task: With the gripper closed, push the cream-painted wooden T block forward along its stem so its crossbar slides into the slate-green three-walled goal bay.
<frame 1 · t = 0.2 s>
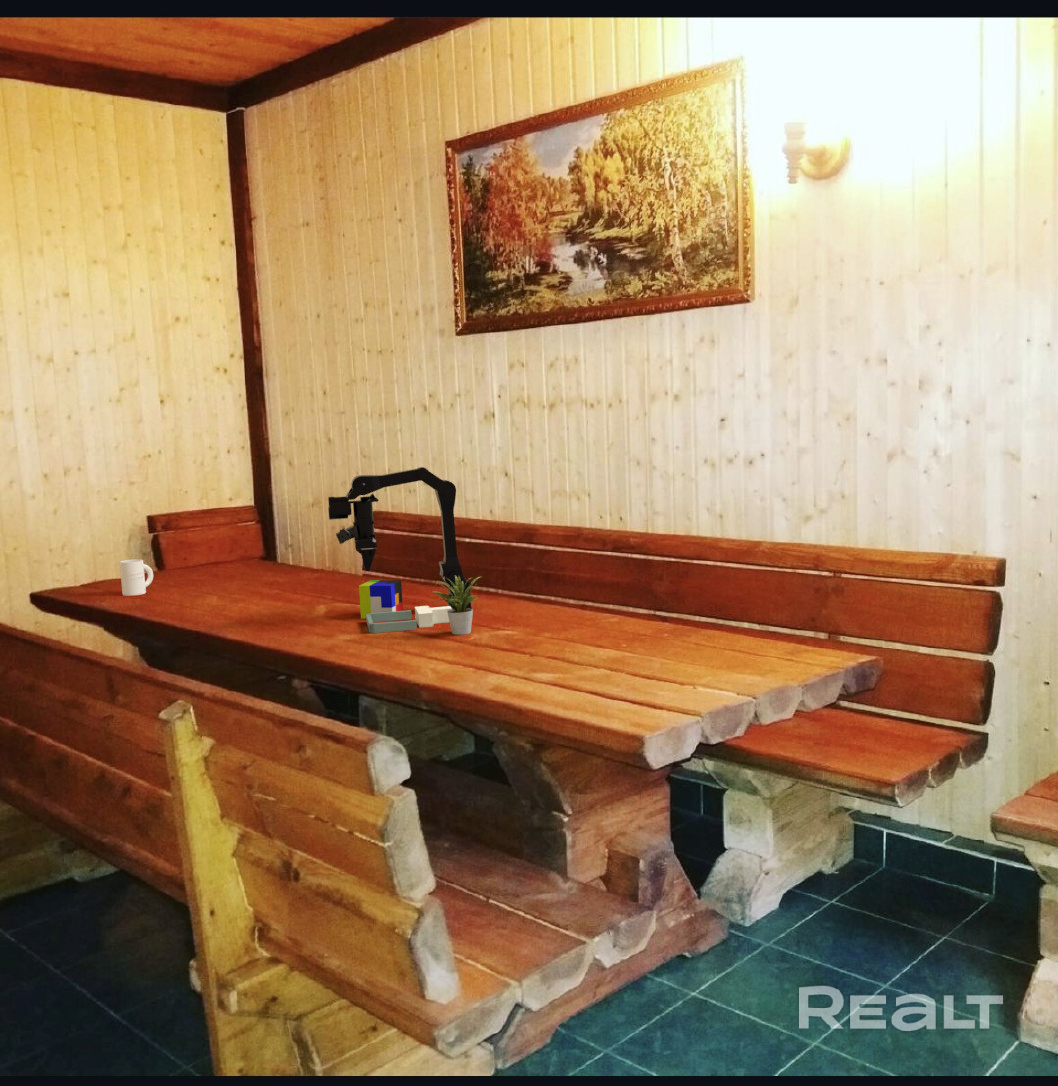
hand: (367, 568, 335), 14 cm above the table, fingers open, 9 cm apart
house plant: (463, 632, 307), on the table
puzzle toy: (382, 616, 338), on the table
t block: (431, 622, 322), on the table
goal bay: (389, 625, 320), on the table
mug: (139, 593, 402), on the table
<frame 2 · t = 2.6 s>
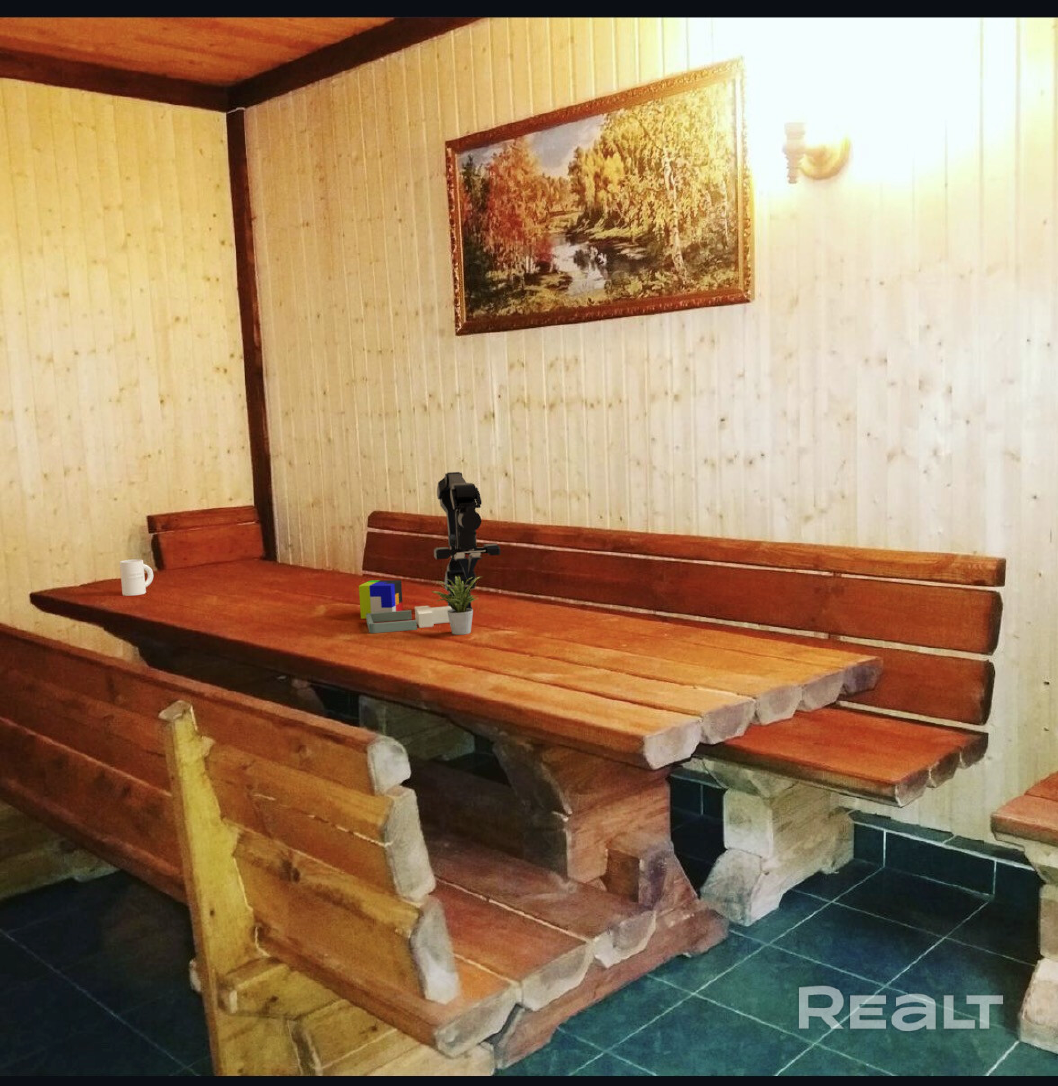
hand: (468, 580, 323), 11 cm above the table, fingers closed
nothing on the table moved.
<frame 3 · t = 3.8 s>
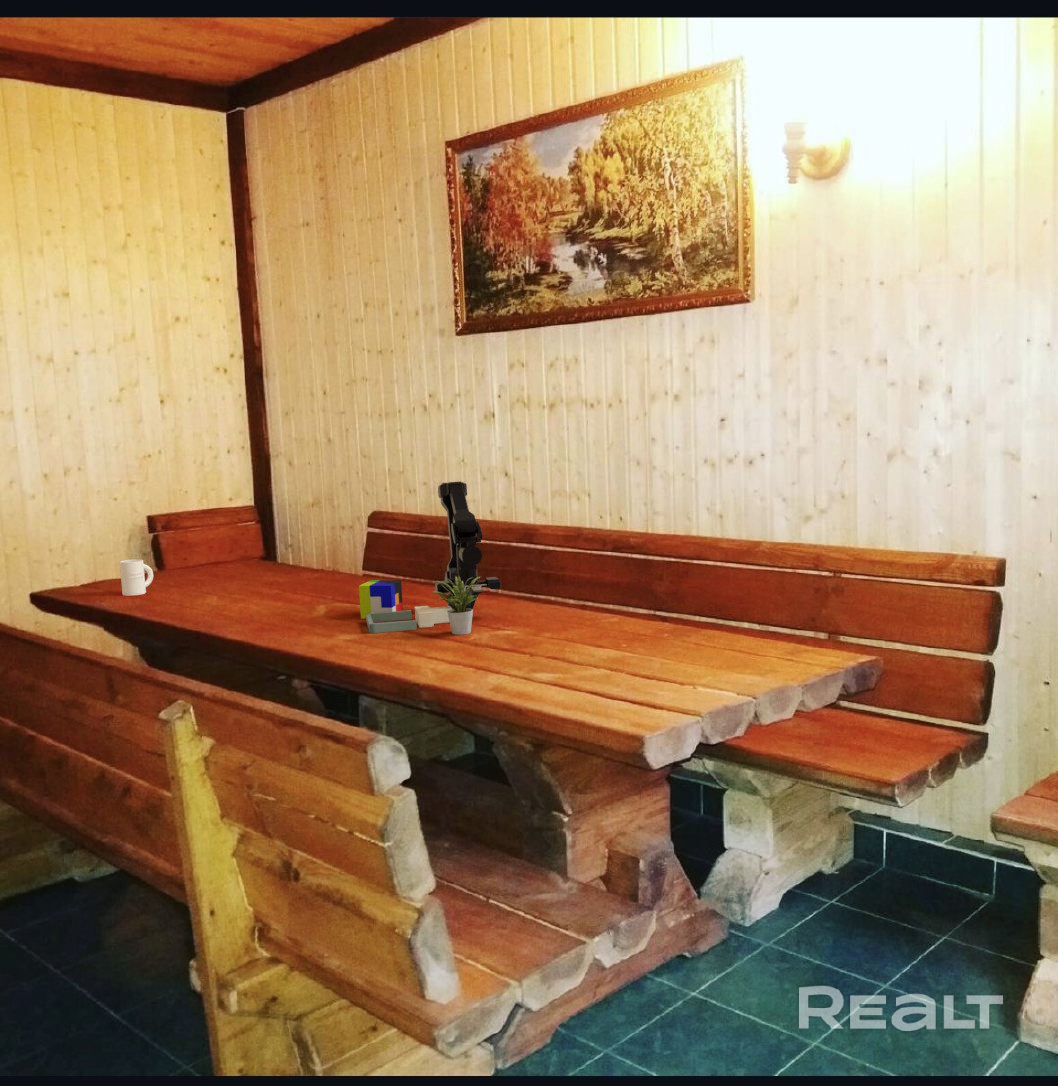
hand: (469, 614, 324), 2 cm above the table, fingers closed
nothing on the table moved.
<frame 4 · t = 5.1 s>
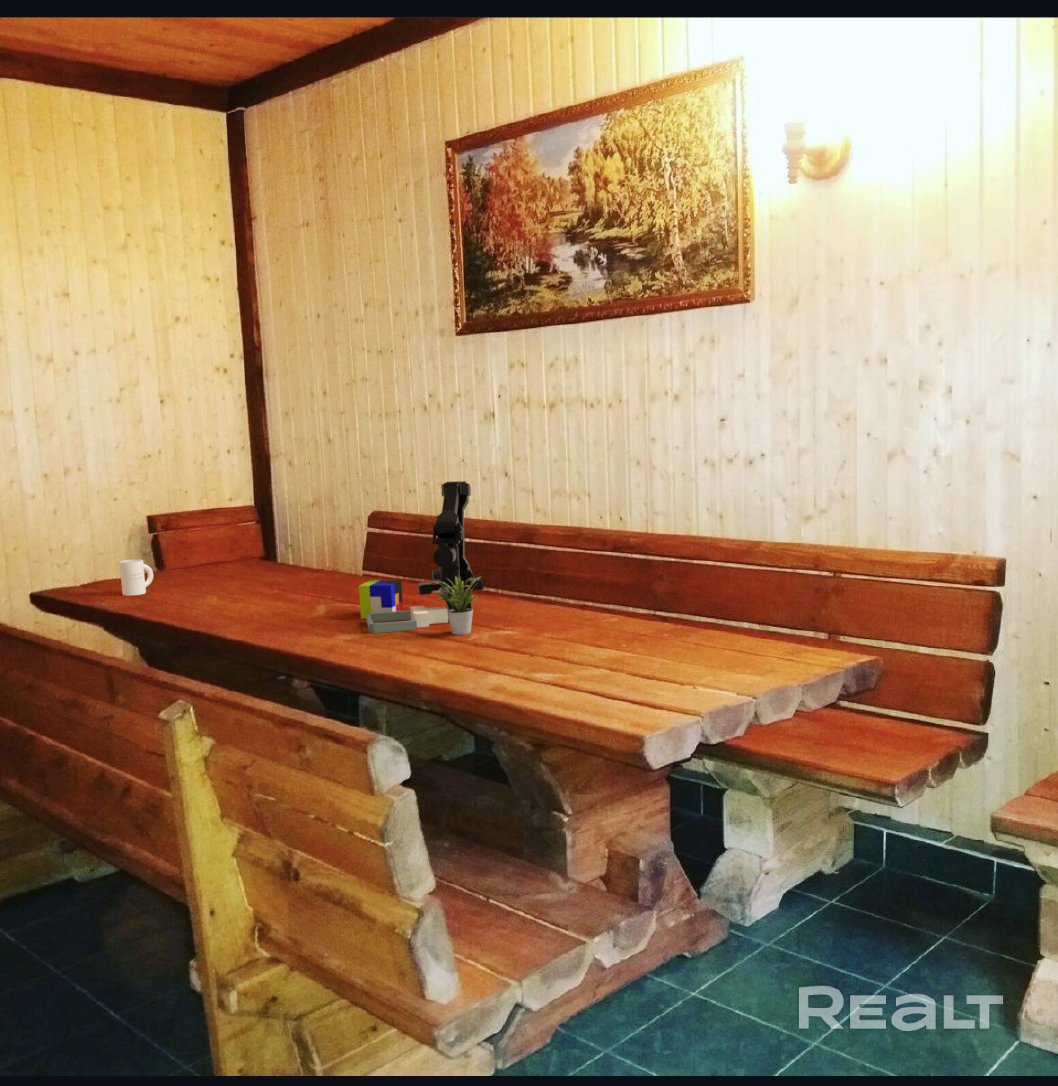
hand: (452, 615, 323), 2 cm above the table, fingers closed
t block: (426, 622, 322), on the table, touching gripper
everything else where it was.
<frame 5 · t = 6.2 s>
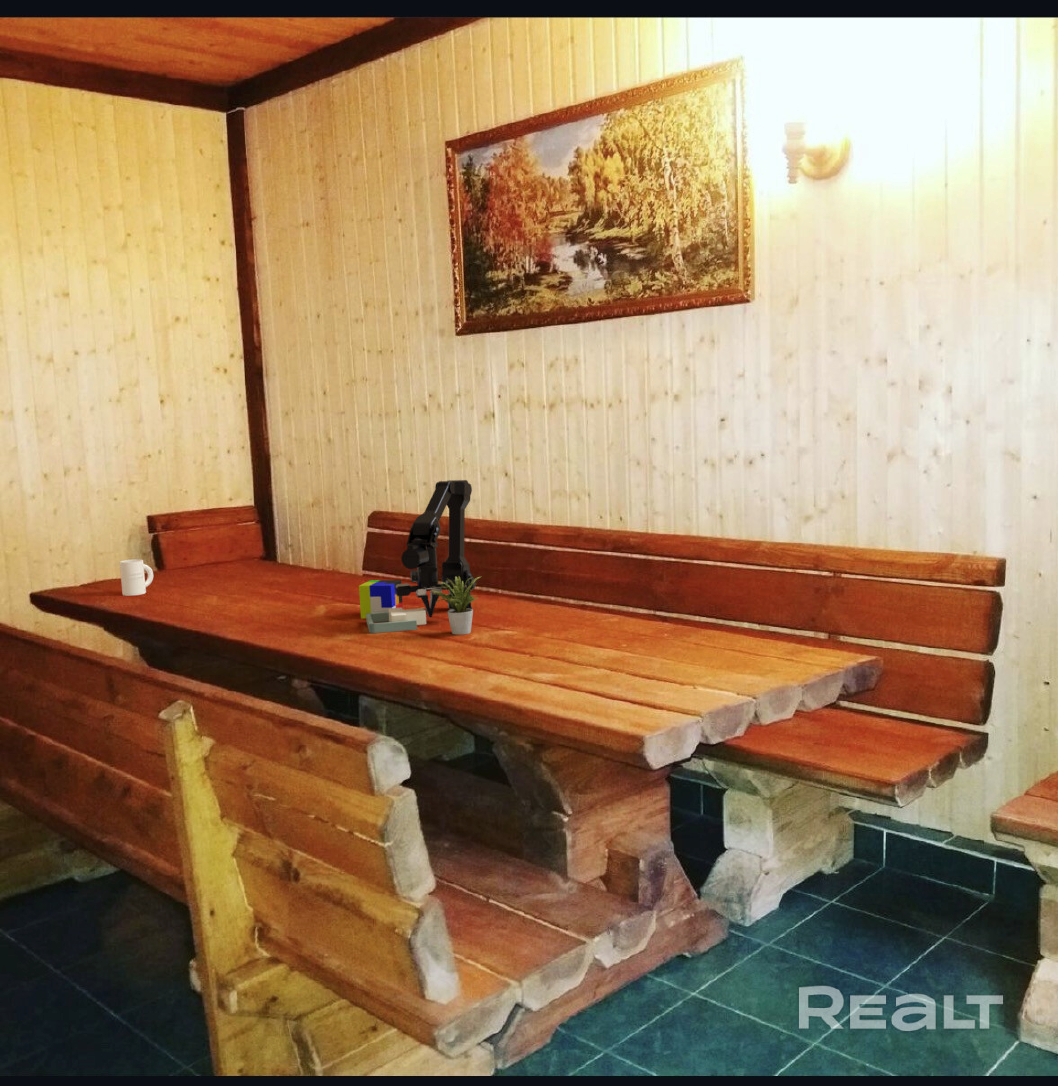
hand: (430, 617, 322), 2 cm above the table, fingers closed
t block: (404, 624, 321), on the table, touching gripper
everything else where it was.
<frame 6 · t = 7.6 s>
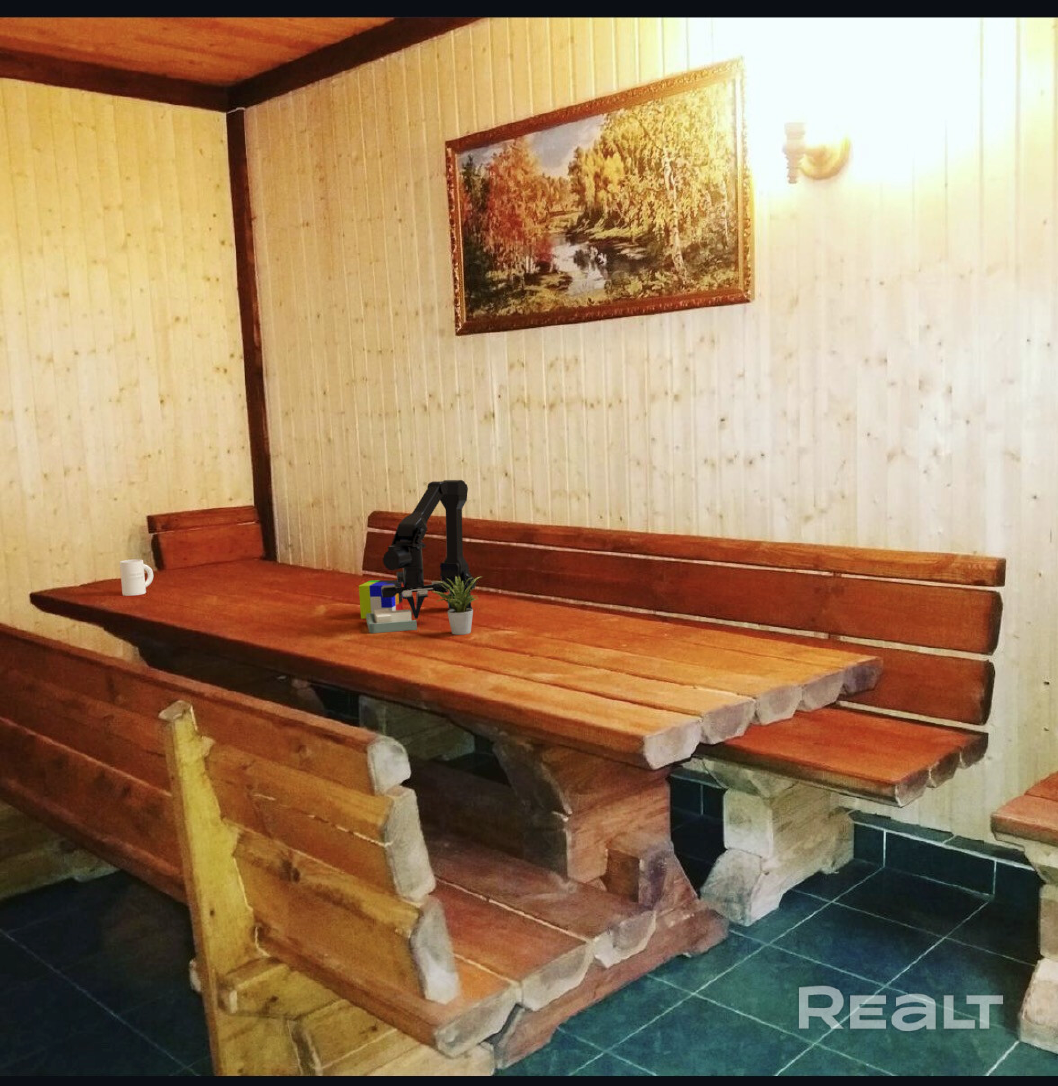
hand: (416, 618, 321), 2 cm above the table, fingers closed
t block: (390, 625, 320), on the table, touching gripper
everything else where it was.
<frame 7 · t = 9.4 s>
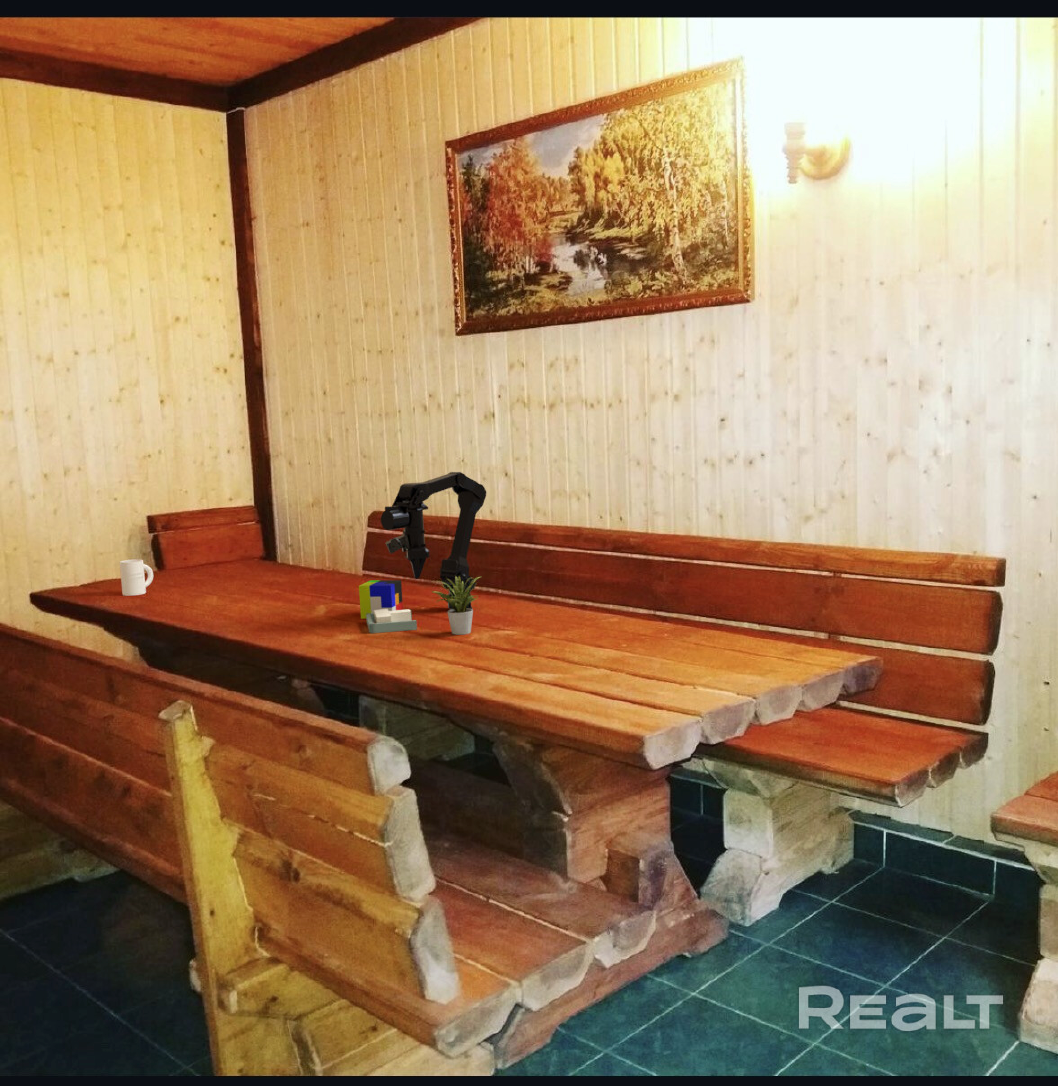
hand: (417, 578, 328), 12 cm above the table, fingers closed
t block: (390, 625, 320), on the table
everything else where it was.
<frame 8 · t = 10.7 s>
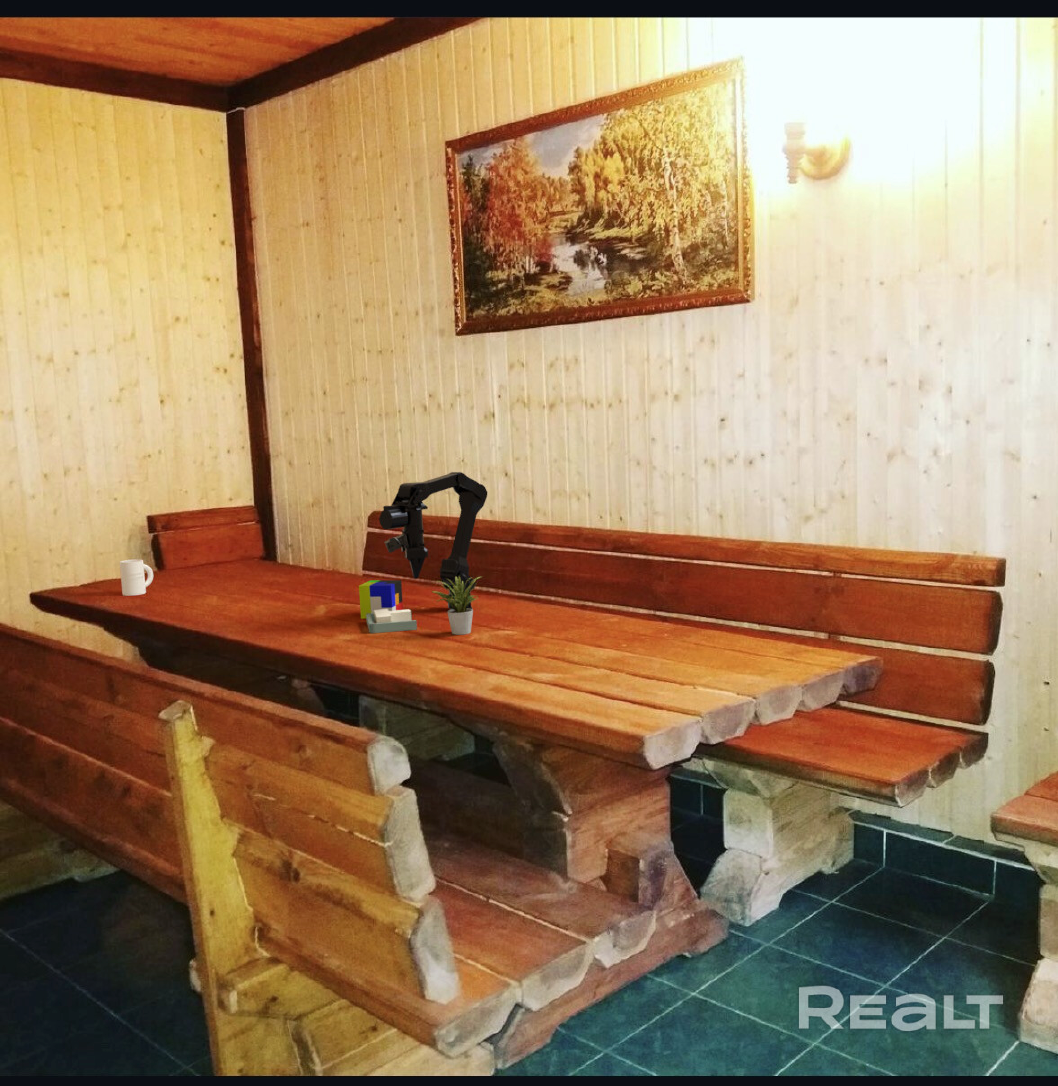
hand: (416, 578, 328), 12 cm above the table, fingers closed
nothing on the table moved.
at the end: t block inside the target area (0.6 cm from its centre), on the table; t block moved 11.9 cm from its start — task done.
